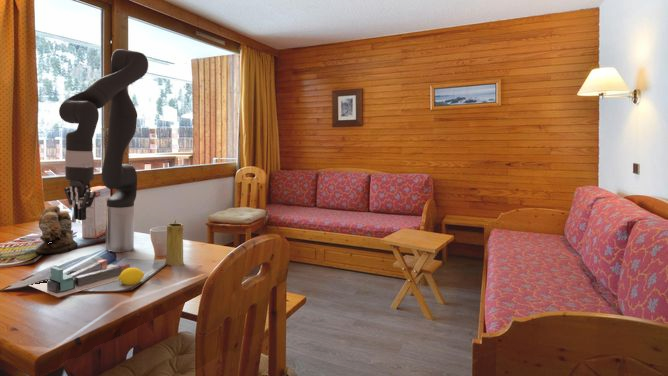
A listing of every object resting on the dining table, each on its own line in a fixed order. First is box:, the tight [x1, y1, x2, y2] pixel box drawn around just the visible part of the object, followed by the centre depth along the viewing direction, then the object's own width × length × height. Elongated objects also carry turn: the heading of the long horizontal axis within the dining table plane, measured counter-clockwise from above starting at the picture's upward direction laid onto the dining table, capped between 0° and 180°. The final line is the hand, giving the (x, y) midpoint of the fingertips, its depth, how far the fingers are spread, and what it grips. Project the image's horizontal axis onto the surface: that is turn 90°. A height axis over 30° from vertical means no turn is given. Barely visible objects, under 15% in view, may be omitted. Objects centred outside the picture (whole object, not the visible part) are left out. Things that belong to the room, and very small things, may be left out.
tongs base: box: [46, 263, 131, 294], centre depth 119 cm, size 22×4×3 cm, turn 152°
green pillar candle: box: [165, 222, 184, 266], centre depth 141 cm, size 6×6×14 cm
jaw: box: [68, 258, 108, 279], centre depth 123 cm, size 16×2×3 cm, turn 177°
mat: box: [28, 263, 120, 298], centre depth 121 cm, size 15×25×1 cm, turn 153°
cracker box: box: [81, 185, 111, 239], centre depth 174 cm, size 14×6×21 cm, turn 5°
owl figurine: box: [35, 204, 78, 255], centre depth 149 cm, size 18×12×17 cm, turn 12°
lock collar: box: [48, 266, 73, 291], centre depth 111 cm, size 3×6×6 cm, turn 62°
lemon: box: [118, 267, 145, 286], centre depth 120 cm, size 7×5×5 cm
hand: (80, 219), depth 127 cm, fingers closed
